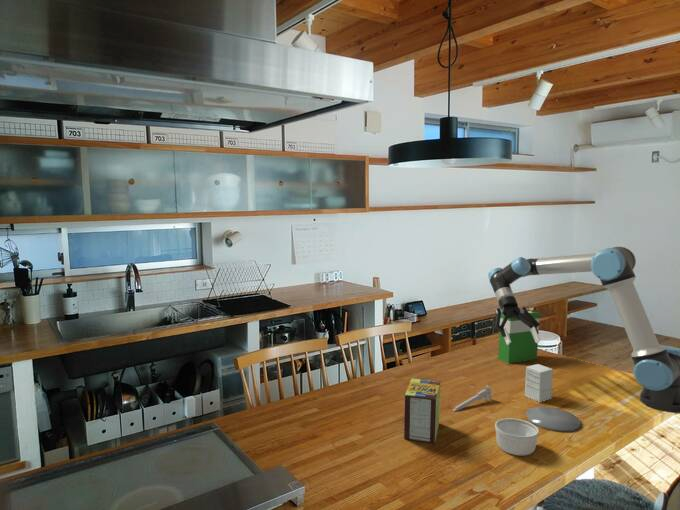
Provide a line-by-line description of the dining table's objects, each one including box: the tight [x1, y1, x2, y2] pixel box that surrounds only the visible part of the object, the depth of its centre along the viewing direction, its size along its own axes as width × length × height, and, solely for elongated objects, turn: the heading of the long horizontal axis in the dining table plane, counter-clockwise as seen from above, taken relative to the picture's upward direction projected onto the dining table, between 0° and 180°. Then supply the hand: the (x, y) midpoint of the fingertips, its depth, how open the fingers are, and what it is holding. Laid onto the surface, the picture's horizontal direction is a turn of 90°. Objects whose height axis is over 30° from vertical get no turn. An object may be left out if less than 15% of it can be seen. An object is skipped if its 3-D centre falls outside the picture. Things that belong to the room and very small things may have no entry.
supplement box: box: [524, 363, 554, 403], centre depth 195 cm, size 7×7×13 cm
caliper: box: [452, 385, 492, 412], centre depth 188 cm, size 20×1×6 cm, turn 123°
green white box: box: [497, 308, 540, 364], centre depth 241 cm, size 18×7×24 cm, turn 111°
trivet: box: [525, 406, 581, 433], centre depth 176 cm, size 18×18×1 cm
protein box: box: [403, 378, 441, 444], centre depth 166 cm, size 10×15×16 cm
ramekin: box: [494, 417, 540, 457], centre depth 156 cm, size 13×13×7 cm
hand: (523, 342), depth 204 cm, fingers open, 13 cm apart
